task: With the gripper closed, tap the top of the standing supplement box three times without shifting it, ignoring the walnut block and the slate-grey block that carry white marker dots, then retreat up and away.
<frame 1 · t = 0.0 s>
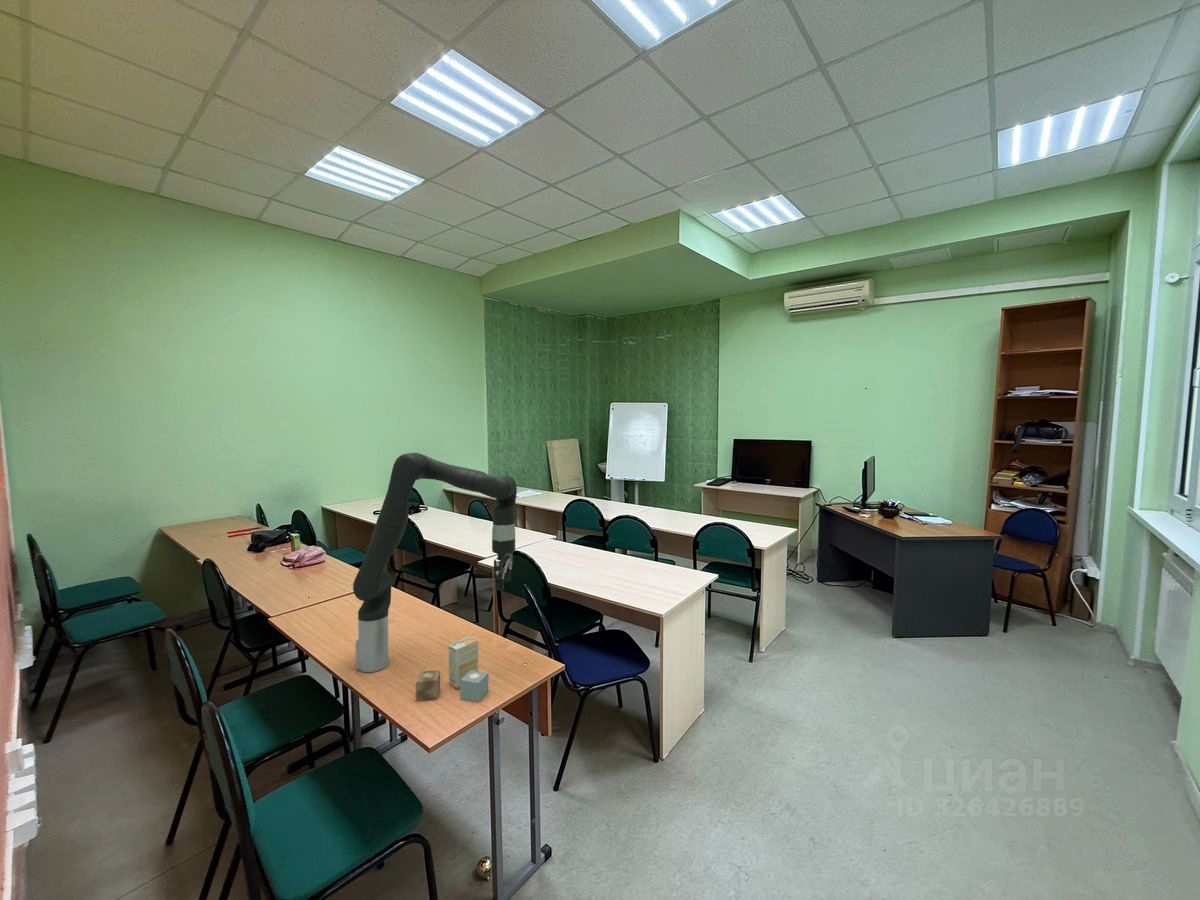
hand: (503, 585, 155), 29 cm above the table, fingers open, 8 cm apart
walnut block: (428, 695, 142), on the table
slate block: (474, 695, 142), on the table
supplement box: (463, 682, 150), on the table
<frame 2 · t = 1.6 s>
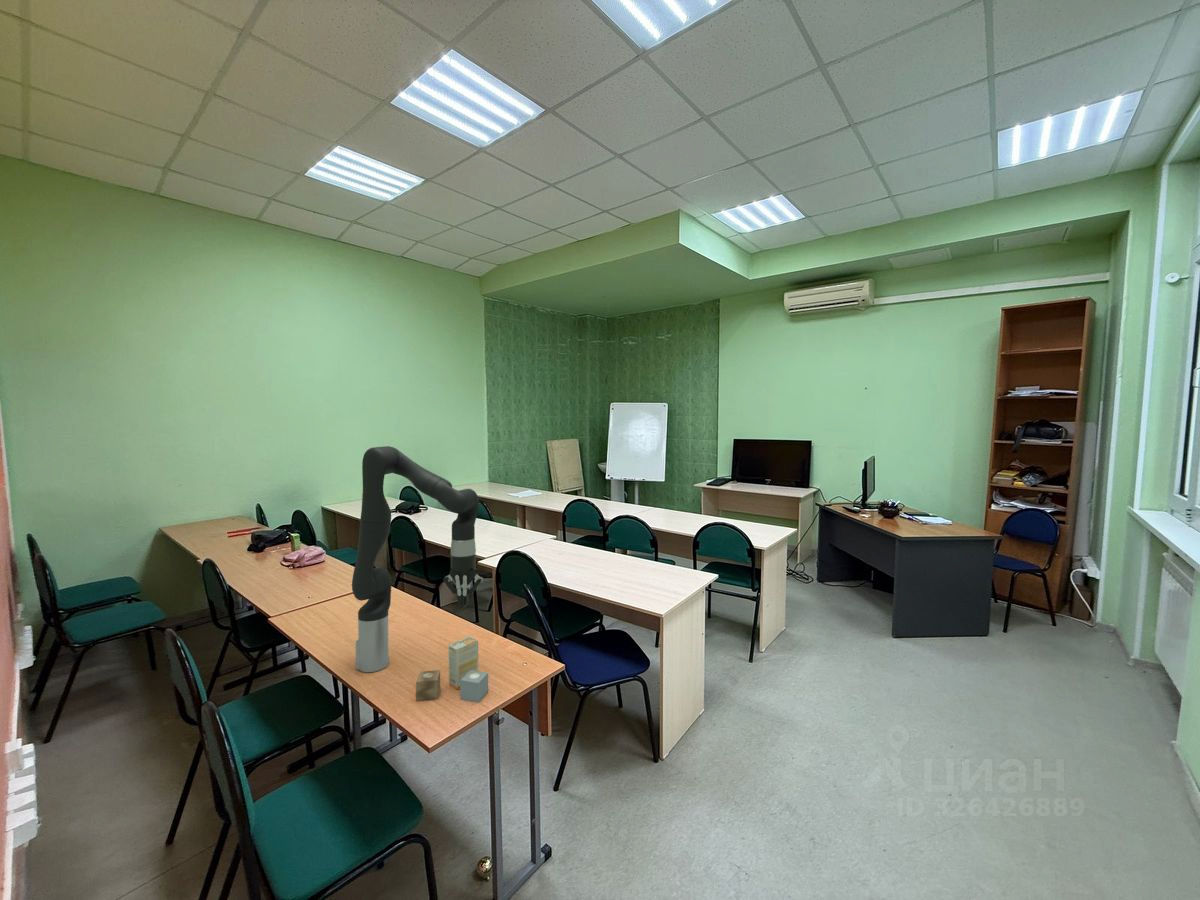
hand: (463, 606, 148), 25 cm above the table, fingers closed
nothing on the table moved.
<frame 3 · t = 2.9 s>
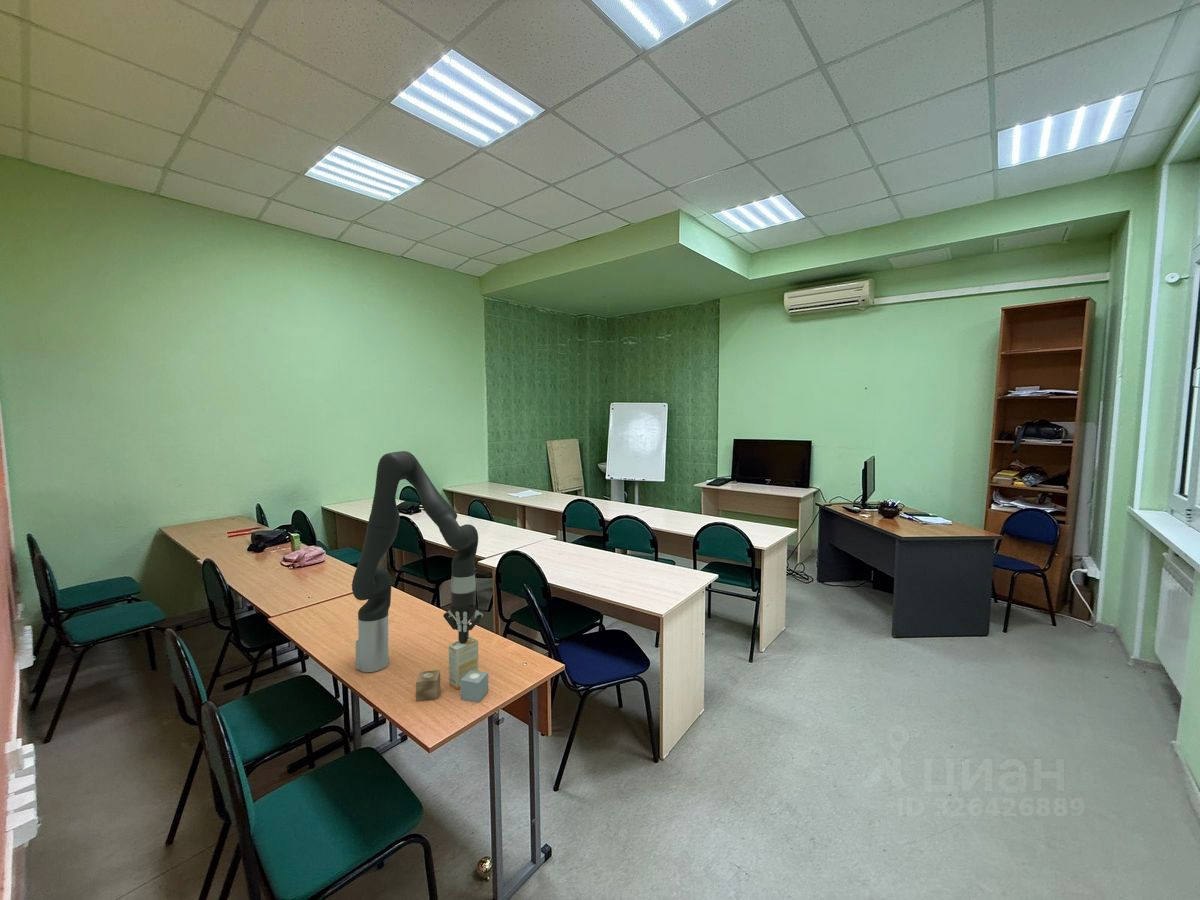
hand: (463, 642, 149), 13 cm above the table, fingers closed
supplement box: (463, 682, 150), on the table, touching gripper
everything else where it was.
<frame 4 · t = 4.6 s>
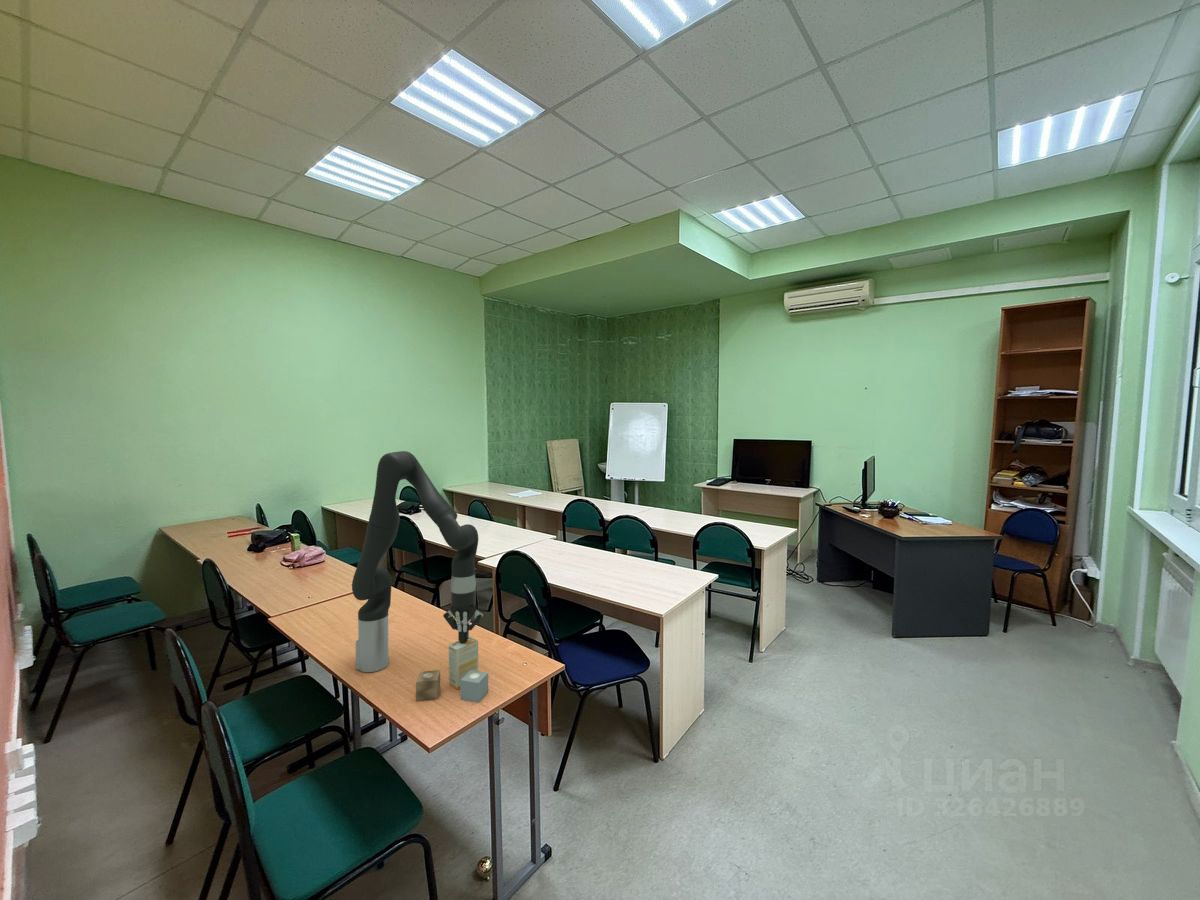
hand: (463, 642, 149), 13 cm above the table, fingers closed
nothing on the table moved.
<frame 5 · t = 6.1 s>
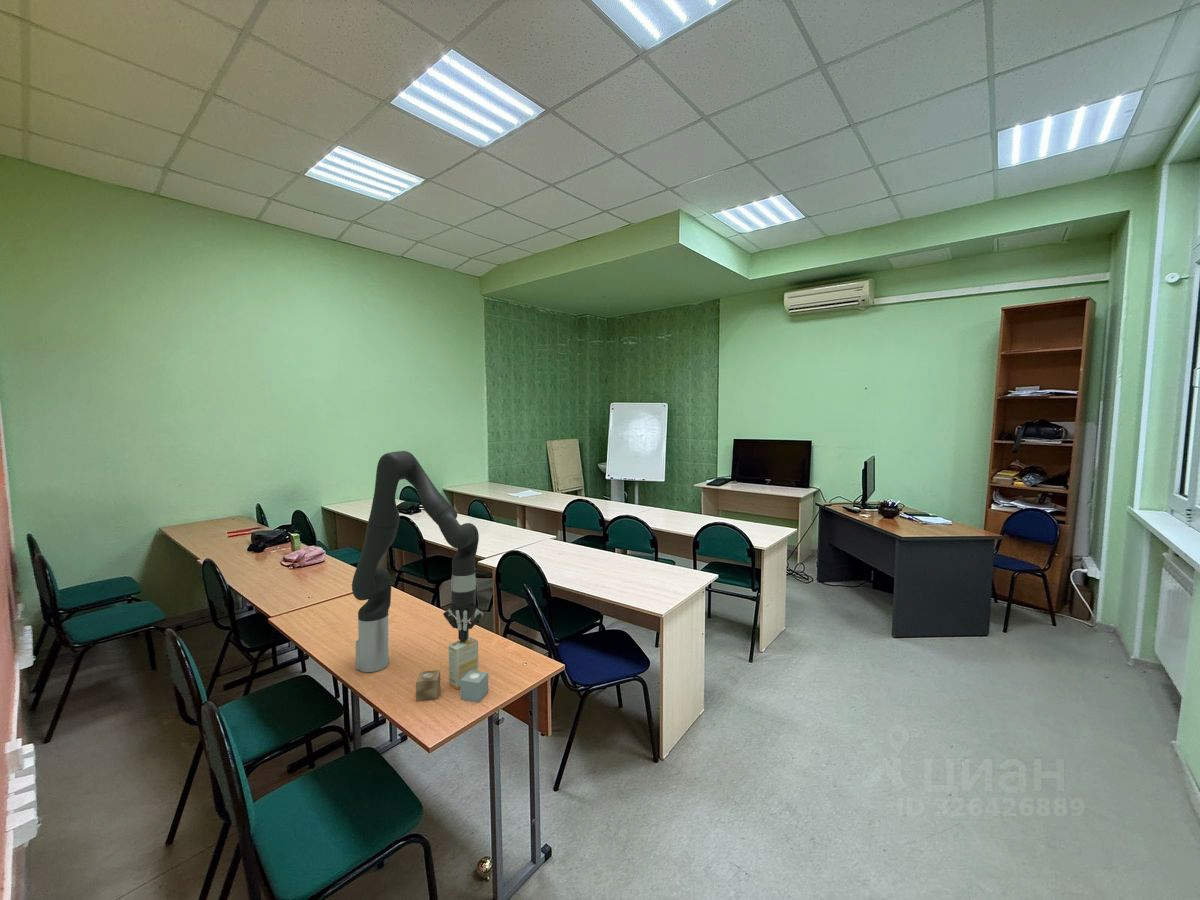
hand: (463, 640, 149), 13 cm above the table, fingers closed
supplement box: (463, 682, 150), on the table
everything else where it was.
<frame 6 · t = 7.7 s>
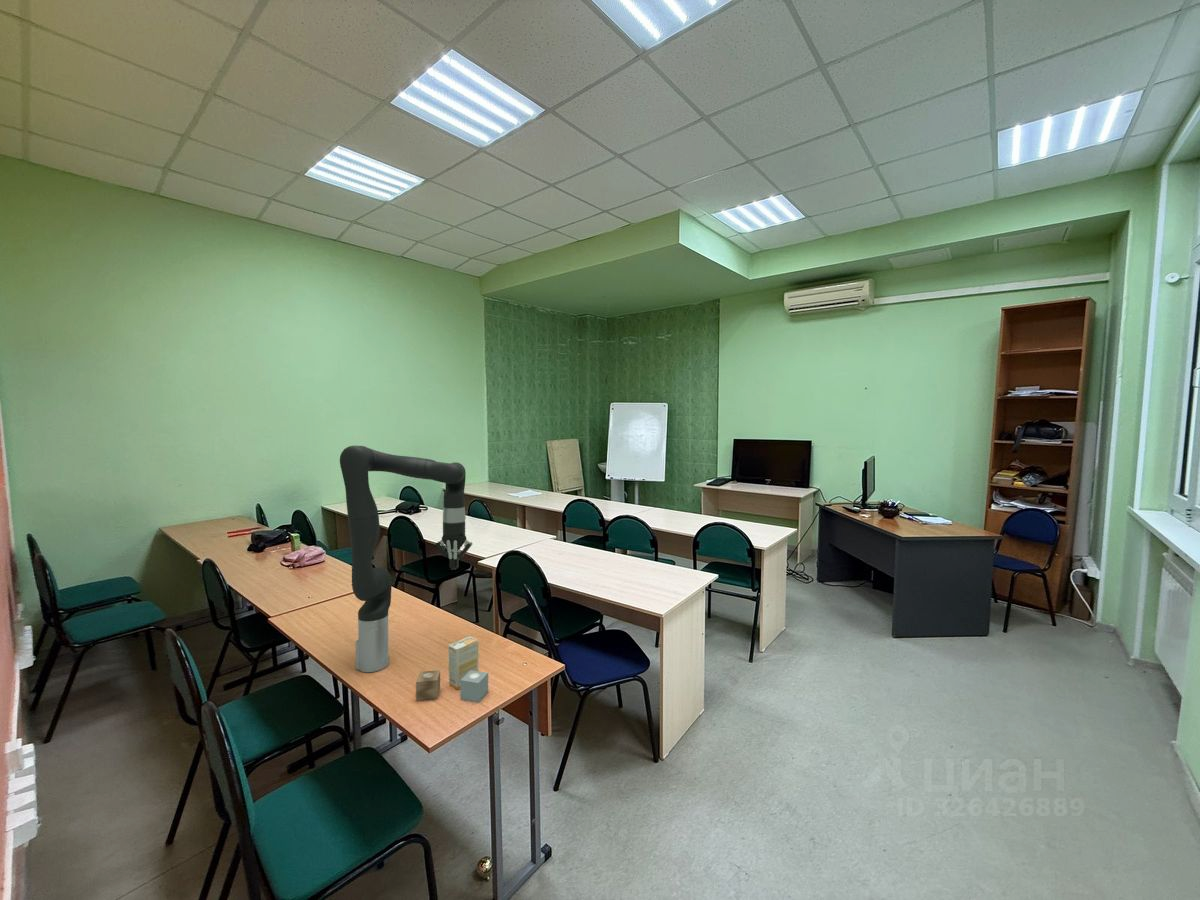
hand: (454, 568, 164), 32 cm above the table, fingers closed
nothing on the table moved.
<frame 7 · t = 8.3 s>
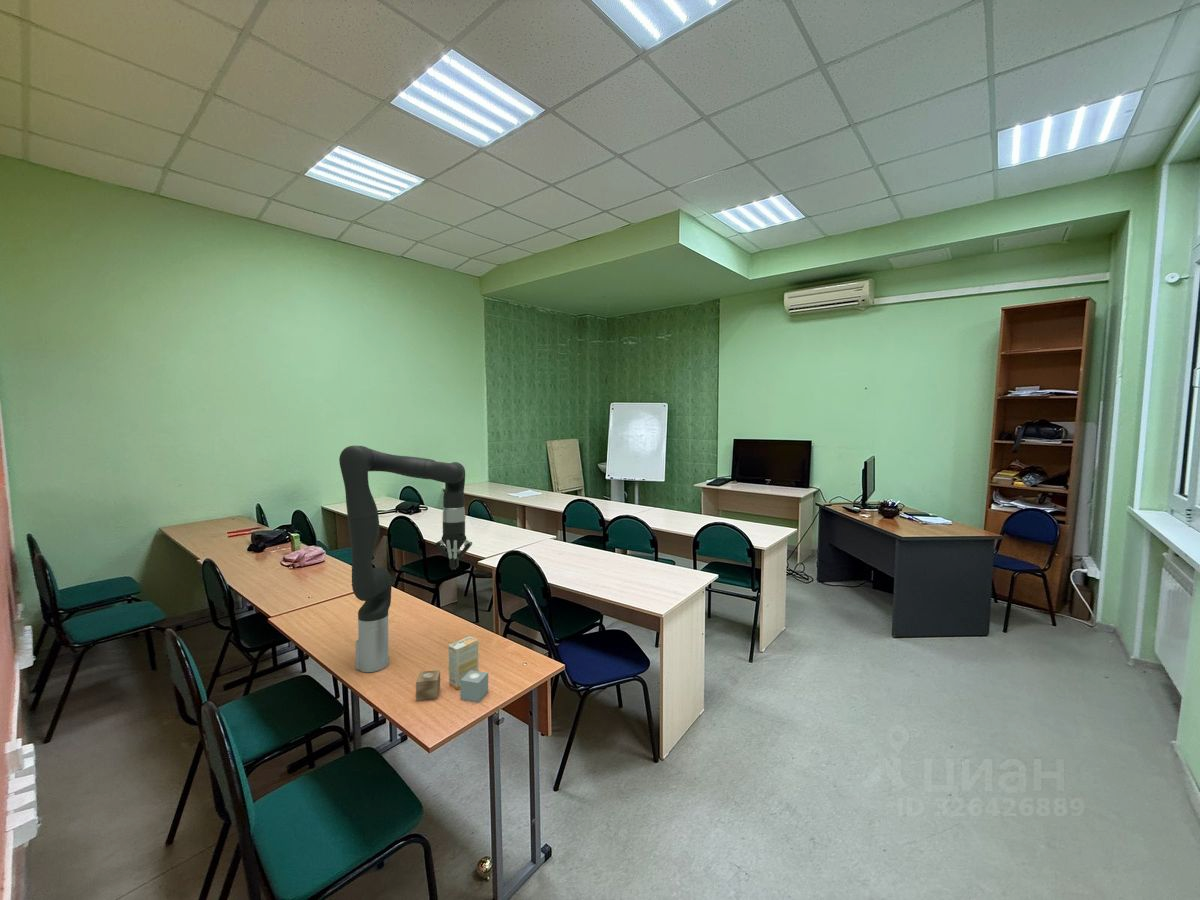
hand: (454, 568, 164), 32 cm above the table, fingers closed
nothing on the table moved.
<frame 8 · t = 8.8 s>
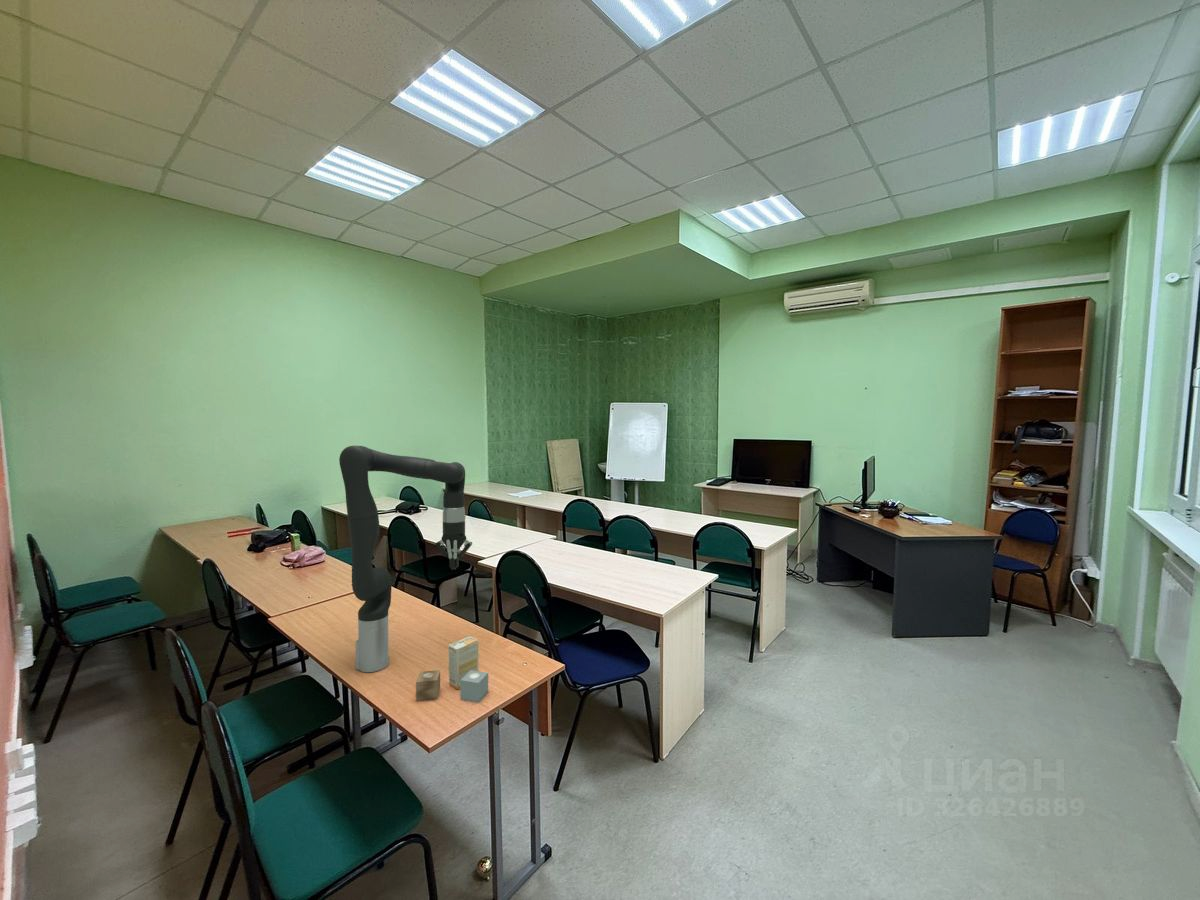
hand: (454, 568, 164), 32 cm above the table, fingers closed
nothing on the table moved.
at the end: supplement box moved 0.2 cm from its start; supplement box tilted 0°; walnut block moved 0.1 cm from its start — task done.
